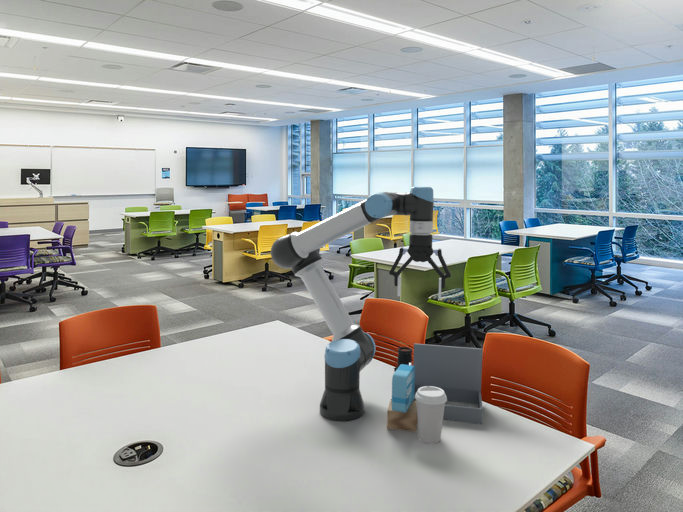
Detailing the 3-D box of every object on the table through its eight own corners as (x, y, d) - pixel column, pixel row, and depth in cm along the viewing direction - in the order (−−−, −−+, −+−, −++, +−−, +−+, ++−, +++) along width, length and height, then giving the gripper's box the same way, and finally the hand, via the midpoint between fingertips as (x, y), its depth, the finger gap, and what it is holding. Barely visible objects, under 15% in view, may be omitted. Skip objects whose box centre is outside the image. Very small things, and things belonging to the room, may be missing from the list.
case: (403, 415, 168) (404, 357, 165) (408, 396, 183) (409, 343, 180) (482, 424, 162) (484, 364, 159) (480, 403, 177) (482, 348, 175)
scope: (420, 353, 188) (393, 351, 190) (419, 389, 189) (392, 386, 192) (421, 347, 195) (396, 345, 198) (420, 381, 197) (395, 378, 200)
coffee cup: (447, 433, 156) (449, 387, 154) (443, 448, 147) (445, 399, 145) (416, 428, 159) (418, 383, 157) (410, 443, 150) (412, 395, 148)
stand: (387, 428, 159) (387, 410, 158) (390, 415, 168) (391, 398, 167) (415, 431, 157) (416, 413, 156) (418, 418, 166) (418, 401, 165)
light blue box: (405, 414, 155) (406, 377, 153) (391, 412, 157) (392, 375, 155) (414, 399, 166) (415, 364, 164) (400, 397, 168) (401, 362, 166)
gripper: (381, 233, 166) (380, 296, 169) (459, 236, 160) (457, 301, 163) (385, 231, 173) (383, 292, 176) (459, 233, 168) (457, 296, 170)
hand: (419, 296), depth 170 cm, fingers open, 13 cm apart
